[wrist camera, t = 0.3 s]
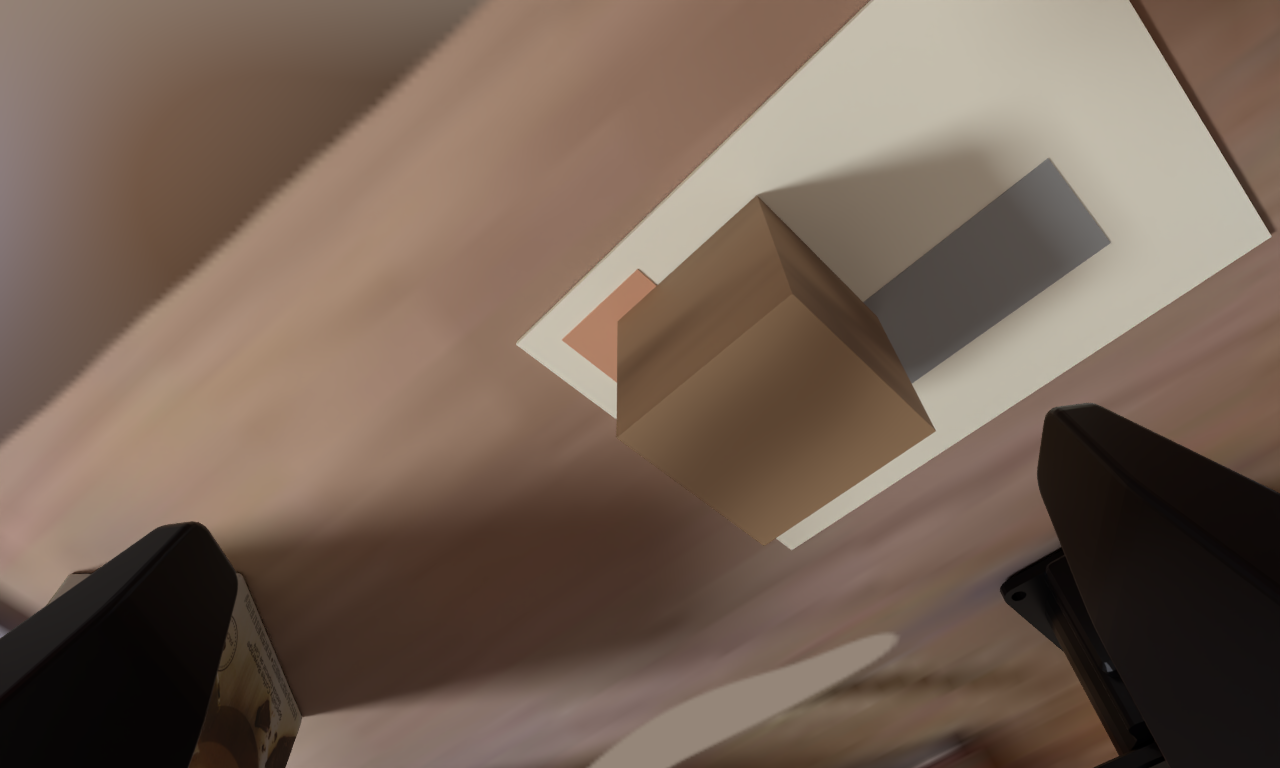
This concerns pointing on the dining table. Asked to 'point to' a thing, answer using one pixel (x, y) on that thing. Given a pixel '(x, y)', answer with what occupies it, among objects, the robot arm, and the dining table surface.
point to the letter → (954, 204)
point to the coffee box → (243, 696)
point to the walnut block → (762, 379)
